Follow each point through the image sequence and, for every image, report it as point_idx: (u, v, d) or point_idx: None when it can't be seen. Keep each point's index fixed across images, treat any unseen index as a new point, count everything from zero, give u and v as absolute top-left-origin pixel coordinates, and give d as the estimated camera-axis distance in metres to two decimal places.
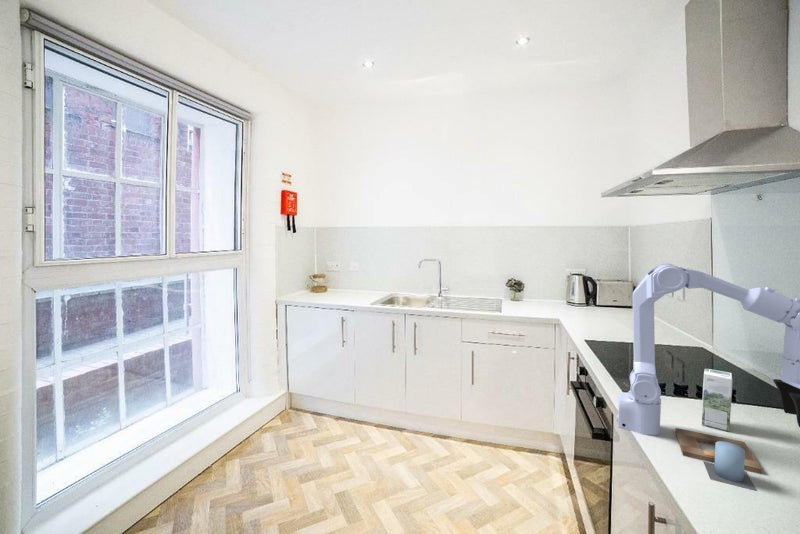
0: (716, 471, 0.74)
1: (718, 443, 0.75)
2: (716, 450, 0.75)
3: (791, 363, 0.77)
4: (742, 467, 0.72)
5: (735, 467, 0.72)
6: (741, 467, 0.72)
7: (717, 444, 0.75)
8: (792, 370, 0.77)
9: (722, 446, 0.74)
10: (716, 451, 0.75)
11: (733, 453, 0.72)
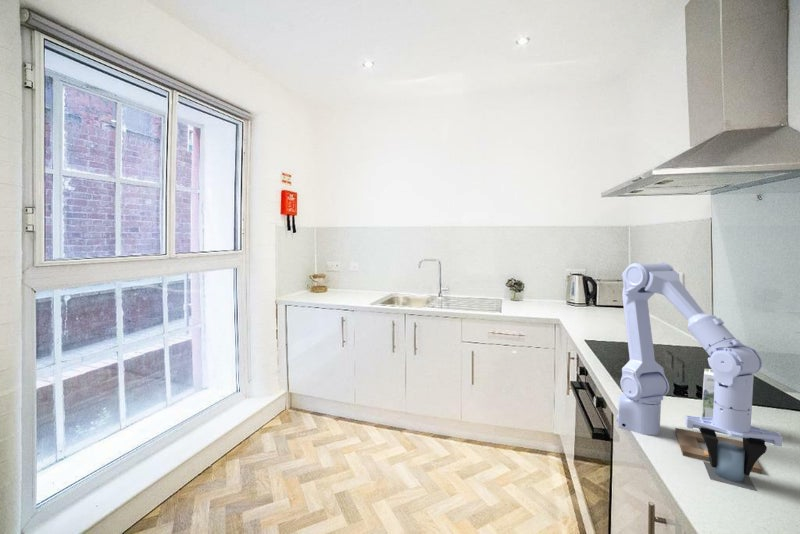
0: (716, 471, 0.74)
1: (718, 443, 0.75)
2: None
3: None
4: (742, 467, 0.72)
5: (735, 467, 0.72)
6: (741, 467, 0.72)
7: None
8: None
9: (722, 446, 0.74)
10: (716, 451, 0.75)
11: (733, 453, 0.72)
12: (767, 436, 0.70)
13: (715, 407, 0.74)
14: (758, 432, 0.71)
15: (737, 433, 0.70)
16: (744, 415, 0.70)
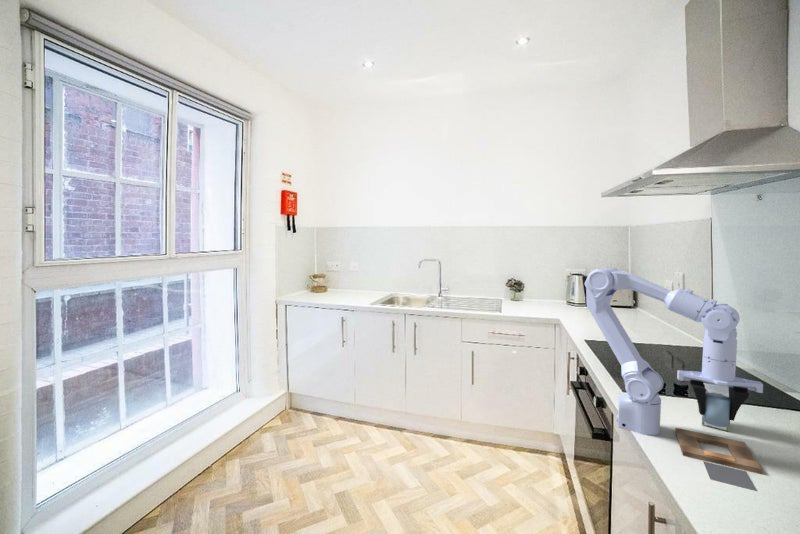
0: (704, 418, 0.83)
1: (706, 394, 0.83)
2: None
3: None
4: (727, 413, 0.80)
5: (721, 414, 0.80)
6: (727, 413, 0.80)
7: (705, 394, 0.83)
8: None
9: (710, 396, 0.82)
10: None
11: (719, 401, 0.80)
12: (749, 384, 0.78)
13: (703, 360, 0.82)
14: (742, 381, 0.79)
15: (723, 382, 0.79)
16: (729, 365, 0.79)
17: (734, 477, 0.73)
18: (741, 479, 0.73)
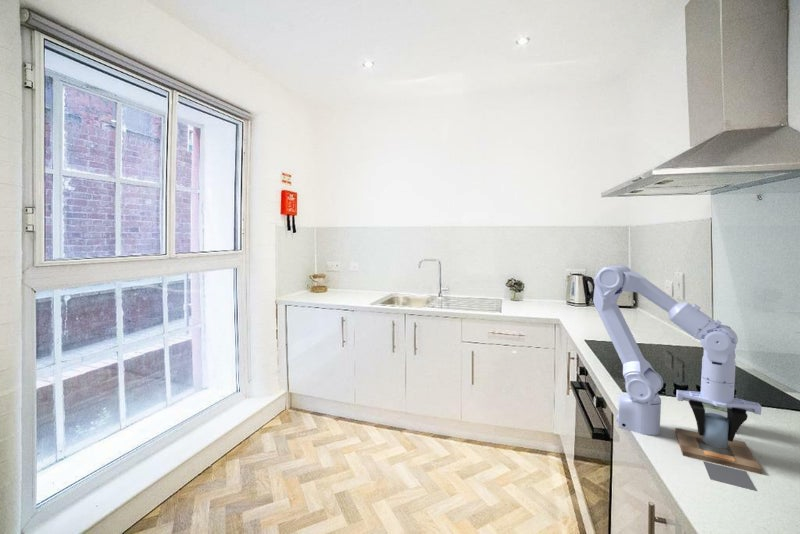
0: (703, 439, 0.83)
1: (705, 414, 0.84)
2: None
3: None
4: (726, 434, 0.80)
5: (720, 435, 0.80)
6: (725, 434, 0.80)
7: (704, 415, 0.83)
8: None
9: (709, 416, 0.83)
10: None
11: (718, 422, 0.80)
12: (748, 405, 0.78)
13: (702, 381, 0.83)
14: (740, 402, 0.80)
15: (721, 403, 0.79)
16: (728, 387, 0.79)
17: (734, 477, 0.73)
18: (741, 479, 0.73)
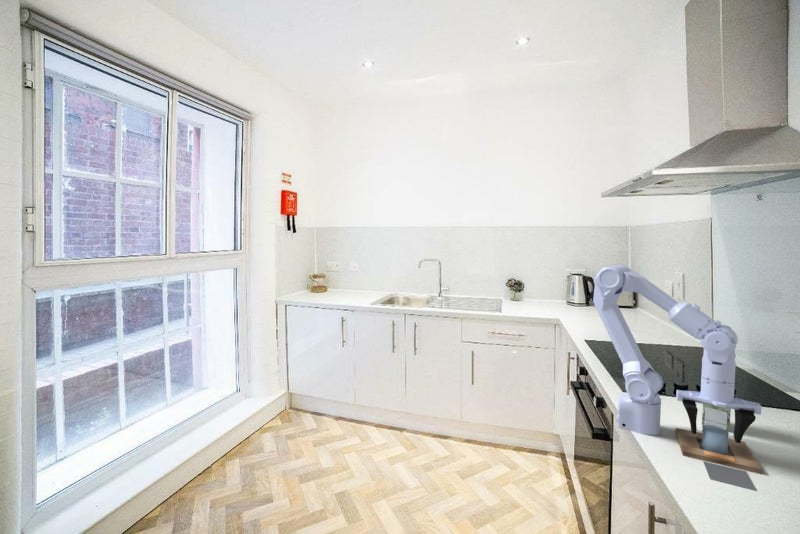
0: None
1: (705, 426, 0.84)
2: (703, 433, 0.83)
3: None
4: (726, 447, 0.81)
5: (720, 447, 0.81)
6: (725, 447, 0.81)
7: (704, 427, 0.84)
8: None
9: (708, 429, 0.83)
10: (703, 433, 0.83)
11: (718, 434, 0.81)
12: (748, 405, 0.78)
13: (702, 381, 0.83)
14: (740, 402, 0.80)
15: (721, 403, 0.79)
16: (728, 387, 0.79)
17: (734, 477, 0.73)
18: (741, 479, 0.73)
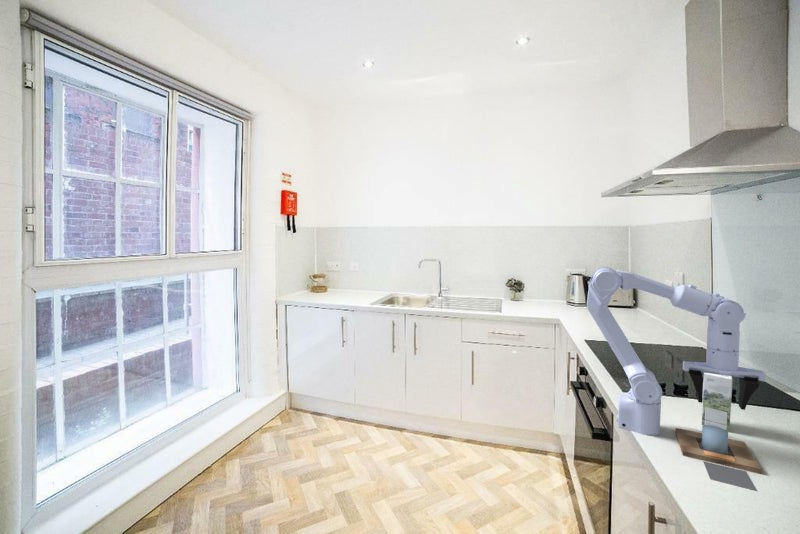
0: None
1: (705, 426, 0.84)
2: (703, 433, 0.83)
3: None
4: (725, 447, 0.81)
5: (720, 447, 0.81)
6: (725, 447, 0.81)
7: (704, 427, 0.84)
8: None
9: (708, 429, 0.83)
10: (703, 433, 0.83)
11: (717, 434, 0.81)
12: (752, 373, 0.81)
13: (708, 351, 0.86)
14: (745, 370, 0.83)
15: (726, 371, 0.82)
16: (732, 355, 0.82)
17: (734, 477, 0.73)
18: (741, 479, 0.73)
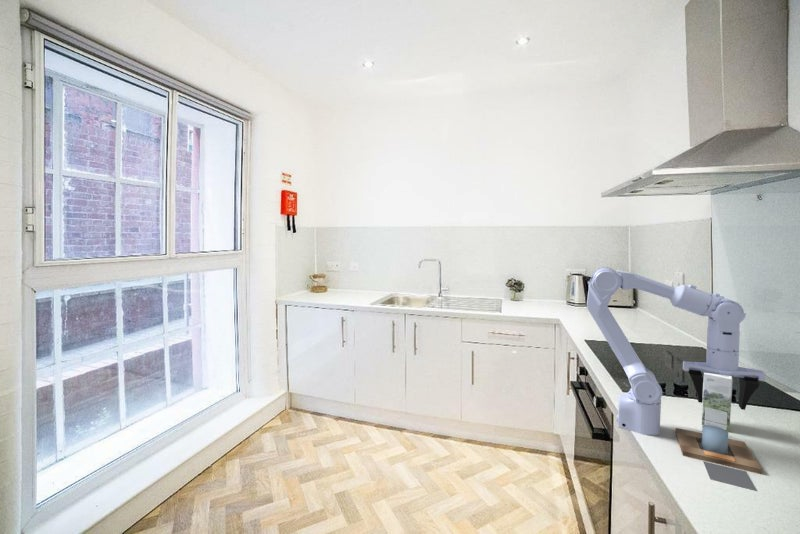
0: None
1: (705, 426, 0.84)
2: (703, 433, 0.83)
3: None
4: (726, 447, 0.81)
5: (720, 447, 0.81)
6: (725, 447, 0.81)
7: (704, 427, 0.84)
8: None
9: (708, 429, 0.83)
10: (703, 433, 0.83)
11: (717, 434, 0.81)
12: (752, 373, 0.81)
13: (708, 351, 0.86)
14: (745, 370, 0.83)
15: (726, 371, 0.82)
16: (732, 355, 0.82)
17: (734, 477, 0.73)
18: (741, 479, 0.73)
